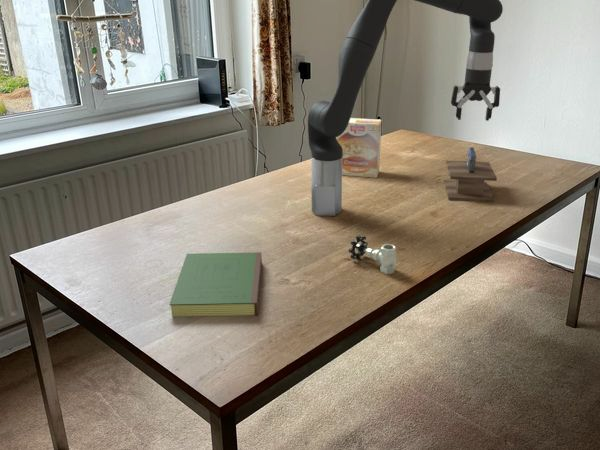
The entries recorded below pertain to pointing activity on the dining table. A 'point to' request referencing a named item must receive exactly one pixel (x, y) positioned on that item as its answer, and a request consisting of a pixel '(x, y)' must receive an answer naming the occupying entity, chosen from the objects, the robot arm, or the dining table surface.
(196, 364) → the dining table surface
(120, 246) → the dining table surface
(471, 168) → the mini dv tape
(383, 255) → the valve
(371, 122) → the coffeecake box
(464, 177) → the stand
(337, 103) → the robot arm
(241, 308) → the hardcover book
